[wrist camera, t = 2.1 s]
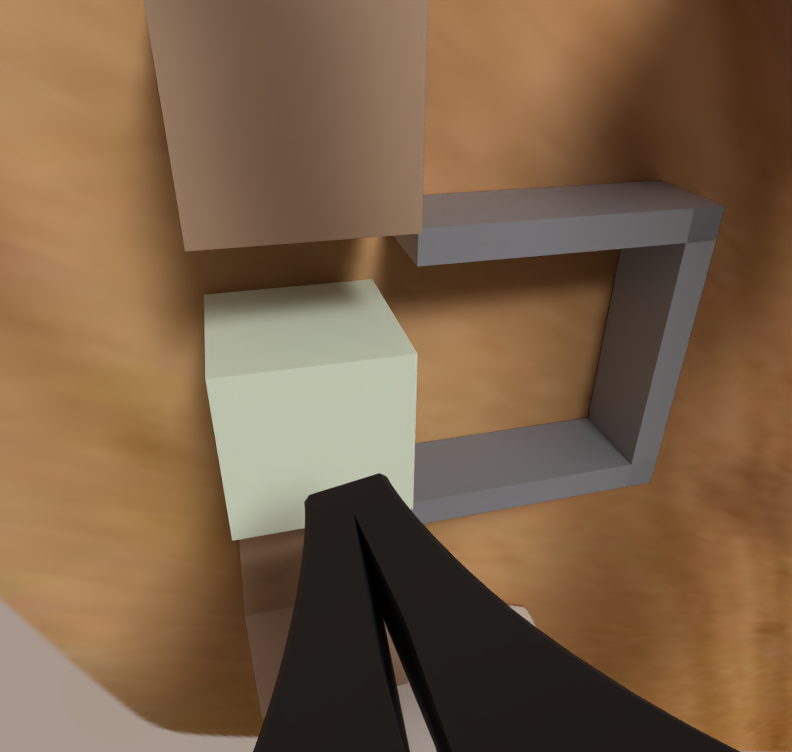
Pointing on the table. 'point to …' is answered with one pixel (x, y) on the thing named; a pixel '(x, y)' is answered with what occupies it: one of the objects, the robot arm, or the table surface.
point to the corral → (622, 344)
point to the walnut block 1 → (292, 117)
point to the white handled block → (413, 719)
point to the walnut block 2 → (276, 605)
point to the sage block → (306, 397)
